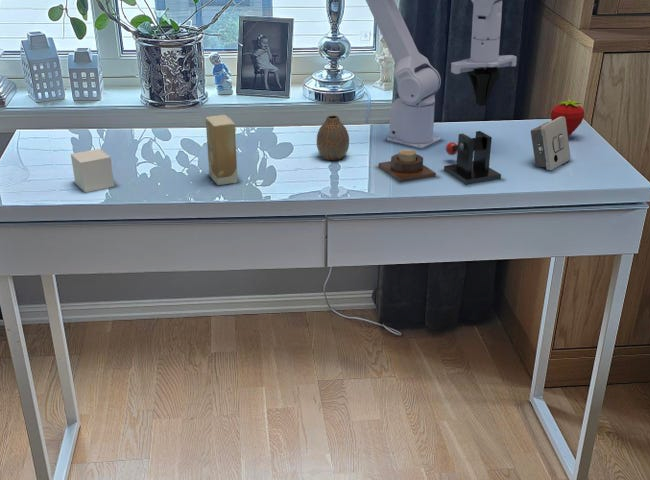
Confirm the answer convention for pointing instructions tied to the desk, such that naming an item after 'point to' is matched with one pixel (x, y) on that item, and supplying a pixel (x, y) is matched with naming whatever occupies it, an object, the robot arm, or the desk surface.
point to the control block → (407, 169)
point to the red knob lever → (453, 147)
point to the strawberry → (569, 114)
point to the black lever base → (471, 169)
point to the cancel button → (407, 155)
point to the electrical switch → (551, 144)
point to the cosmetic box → (221, 149)
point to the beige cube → (92, 170)
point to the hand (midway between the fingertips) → (481, 104)
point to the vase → (332, 139)
